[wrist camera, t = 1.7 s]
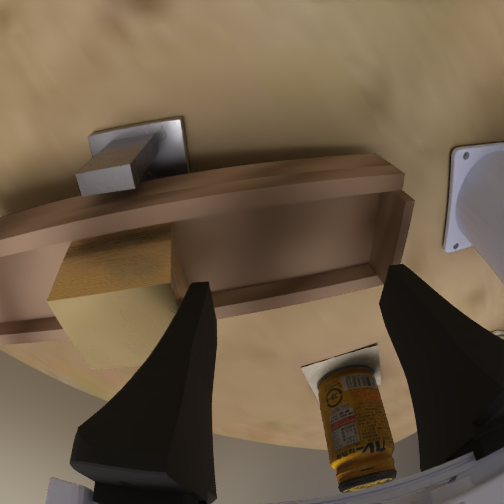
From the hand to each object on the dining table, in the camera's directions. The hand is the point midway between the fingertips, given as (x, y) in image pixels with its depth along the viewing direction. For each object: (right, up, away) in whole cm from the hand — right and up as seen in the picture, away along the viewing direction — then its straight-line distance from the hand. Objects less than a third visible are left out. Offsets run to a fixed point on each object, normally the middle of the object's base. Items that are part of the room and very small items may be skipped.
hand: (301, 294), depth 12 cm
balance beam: (-7, +2, +3) cm, 8 cm away
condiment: (+7, -11, +18) cm, 22 cm away
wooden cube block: (-7, +1, +2) cm, 8 cm away
